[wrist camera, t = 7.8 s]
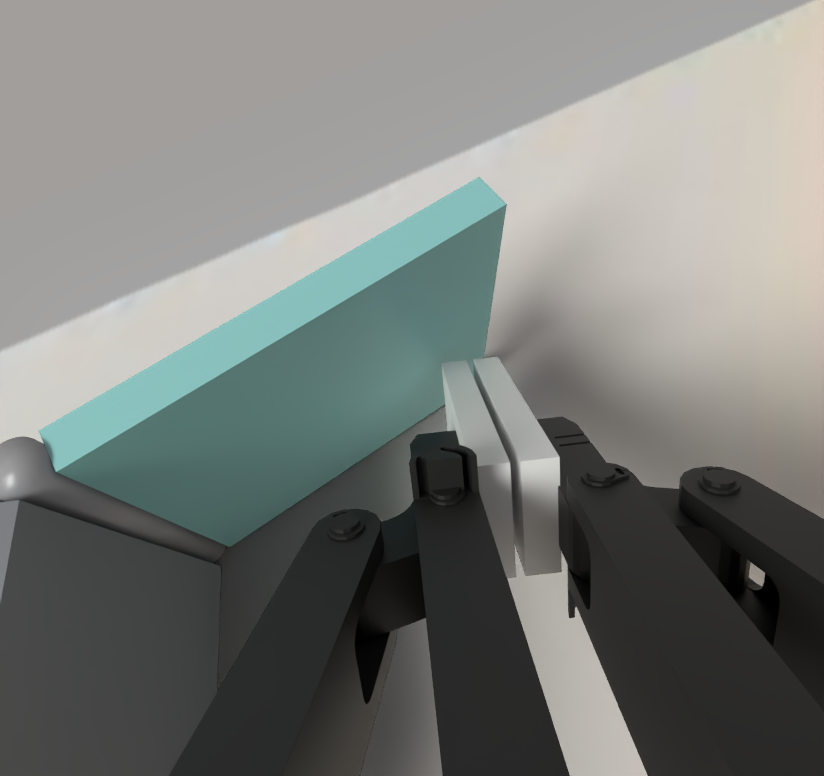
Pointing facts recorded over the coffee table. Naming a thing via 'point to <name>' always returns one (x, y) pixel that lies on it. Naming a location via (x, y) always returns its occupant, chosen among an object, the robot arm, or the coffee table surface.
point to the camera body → (100, 648)
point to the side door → (276, 390)
